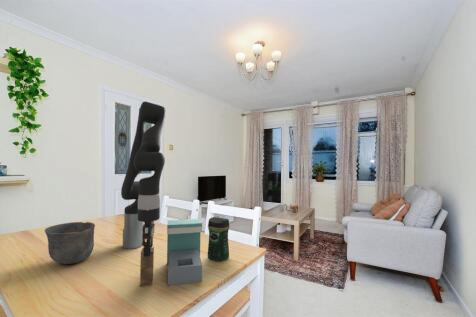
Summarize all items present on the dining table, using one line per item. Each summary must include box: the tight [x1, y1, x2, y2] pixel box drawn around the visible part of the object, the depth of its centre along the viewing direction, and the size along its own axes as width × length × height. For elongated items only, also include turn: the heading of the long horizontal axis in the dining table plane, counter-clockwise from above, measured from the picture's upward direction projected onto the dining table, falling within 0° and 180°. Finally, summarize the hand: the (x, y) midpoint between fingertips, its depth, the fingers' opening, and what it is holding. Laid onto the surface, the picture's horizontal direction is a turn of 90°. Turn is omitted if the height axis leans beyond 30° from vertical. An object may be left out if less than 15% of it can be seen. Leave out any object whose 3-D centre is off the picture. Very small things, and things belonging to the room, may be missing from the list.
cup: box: [44, 221, 96, 265], centre depth 99 cm, size 18×18×15 cm
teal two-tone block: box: [166, 218, 203, 266], centre depth 97 cm, size 14×8×18 cm, turn 105°
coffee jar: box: [207, 216, 230, 263], centre depth 105 cm, size 10×8×19 cm
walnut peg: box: [139, 246, 155, 288], centre depth 83 cm, size 4×4×12 cm
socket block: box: [167, 249, 203, 286], centre depth 90 cm, size 12×16×6 cm
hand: (148, 251), depth 83 cm, fingers open, 8 cm apart
